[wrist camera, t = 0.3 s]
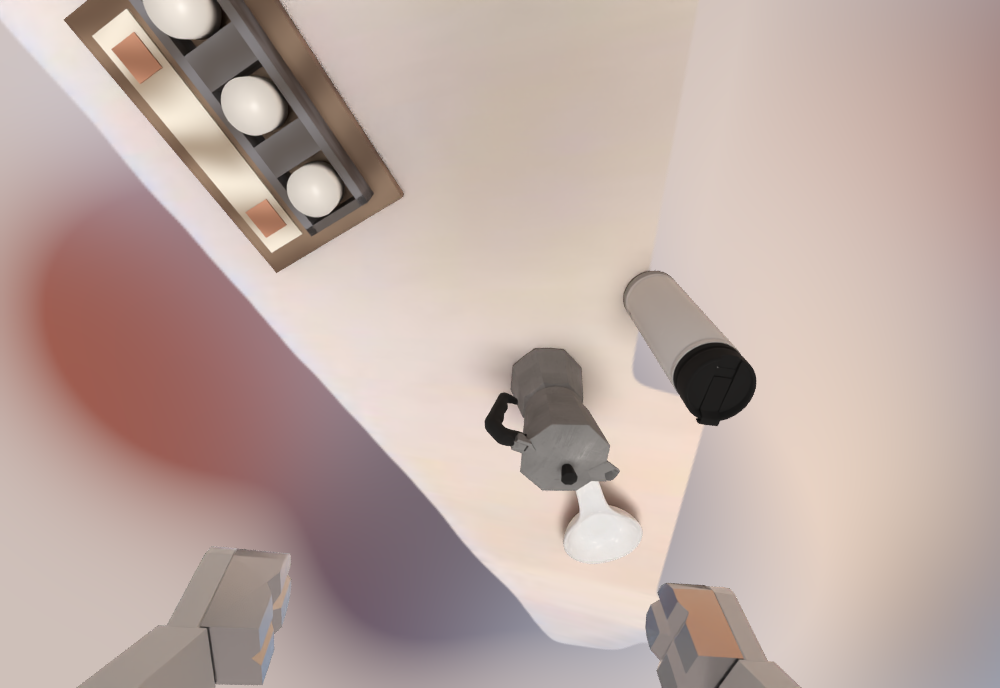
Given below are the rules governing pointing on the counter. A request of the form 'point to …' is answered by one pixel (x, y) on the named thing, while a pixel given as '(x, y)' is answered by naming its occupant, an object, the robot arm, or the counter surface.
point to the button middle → (254, 105)
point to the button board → (220, 146)
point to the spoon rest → (600, 529)
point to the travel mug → (690, 348)
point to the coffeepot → (552, 424)
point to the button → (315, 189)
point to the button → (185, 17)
